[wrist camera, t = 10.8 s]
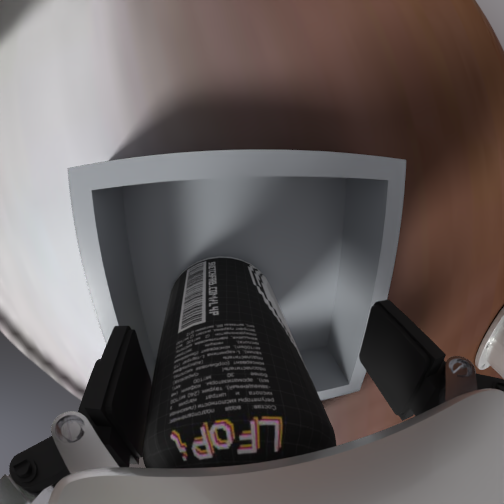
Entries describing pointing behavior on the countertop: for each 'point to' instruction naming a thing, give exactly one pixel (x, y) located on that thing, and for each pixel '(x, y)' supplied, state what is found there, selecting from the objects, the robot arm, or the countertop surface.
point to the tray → (245, 241)
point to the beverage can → (229, 376)
